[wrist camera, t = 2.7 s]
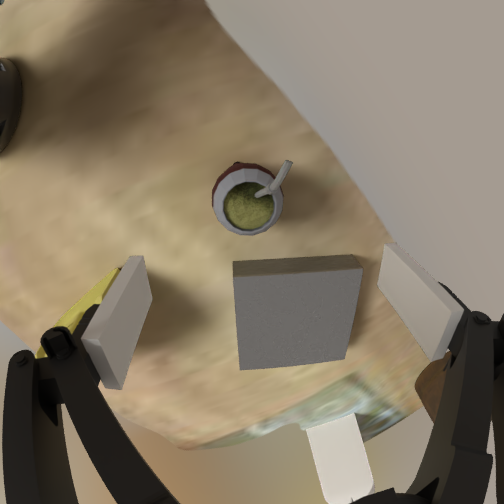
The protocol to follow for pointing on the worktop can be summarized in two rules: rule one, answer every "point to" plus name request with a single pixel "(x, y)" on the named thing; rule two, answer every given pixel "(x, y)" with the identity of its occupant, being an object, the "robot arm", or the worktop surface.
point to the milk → (341, 460)
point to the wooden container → (432, 385)
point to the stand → (295, 309)
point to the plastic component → (83, 306)
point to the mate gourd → (249, 198)
